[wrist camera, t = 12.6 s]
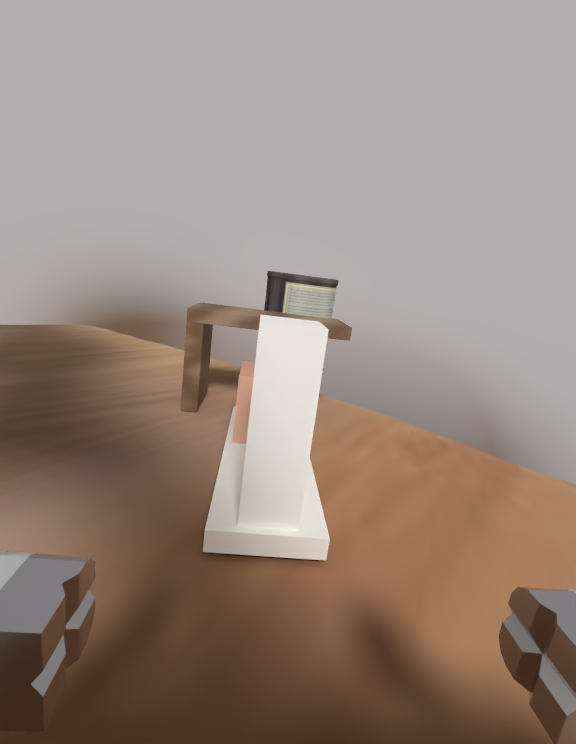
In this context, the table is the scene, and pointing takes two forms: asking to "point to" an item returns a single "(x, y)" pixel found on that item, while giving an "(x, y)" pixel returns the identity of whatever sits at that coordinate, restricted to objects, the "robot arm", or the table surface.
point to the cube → (243, 402)
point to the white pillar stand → (274, 453)
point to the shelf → (201, 335)
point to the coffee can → (300, 295)
